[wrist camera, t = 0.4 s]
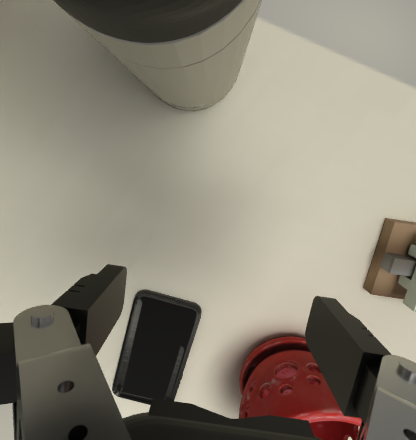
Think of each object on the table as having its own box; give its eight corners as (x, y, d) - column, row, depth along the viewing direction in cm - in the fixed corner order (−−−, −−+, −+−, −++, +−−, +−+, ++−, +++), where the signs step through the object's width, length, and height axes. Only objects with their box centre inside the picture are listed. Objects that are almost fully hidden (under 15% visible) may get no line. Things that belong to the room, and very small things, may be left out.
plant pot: (353, 393, 34) (424, 519, 23) (253, 421, 36) (271, 553, 24) (324, 306, 31) (389, 399, 20) (216, 341, 33) (218, 446, 21)
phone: (110, 394, 34) (136, 290, 30) (113, 387, 35) (139, 285, 32) (171, 410, 35) (204, 309, 31) (173, 402, 36) (204, 303, 32)
